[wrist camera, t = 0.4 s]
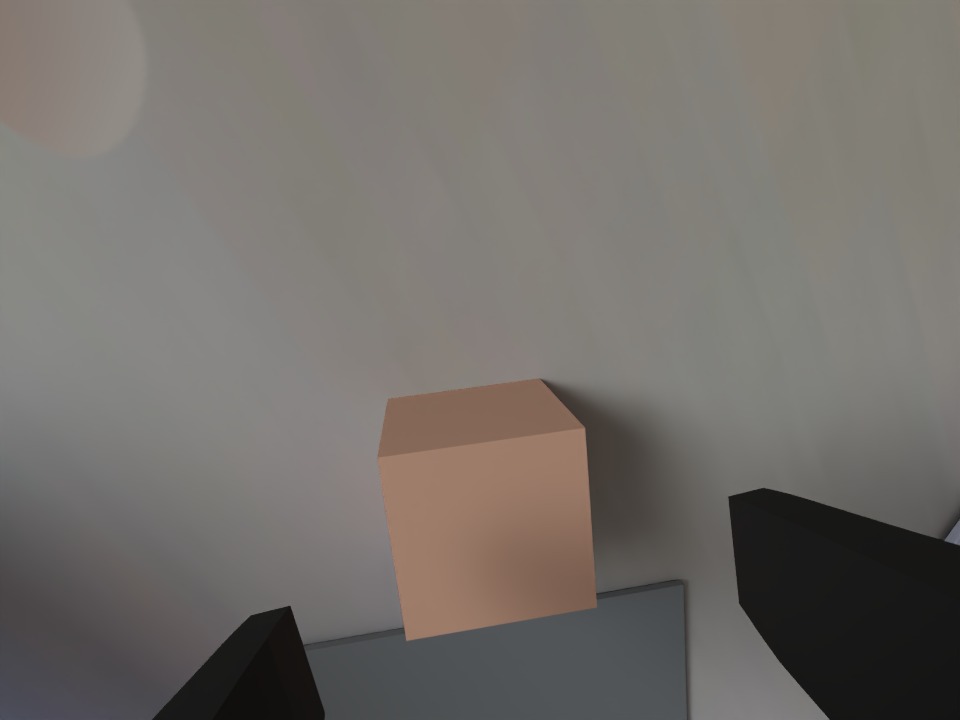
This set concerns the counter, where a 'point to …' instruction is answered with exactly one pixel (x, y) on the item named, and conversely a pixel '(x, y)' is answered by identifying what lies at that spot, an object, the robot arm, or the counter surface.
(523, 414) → the cube
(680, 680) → the panel
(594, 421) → the counter surface
